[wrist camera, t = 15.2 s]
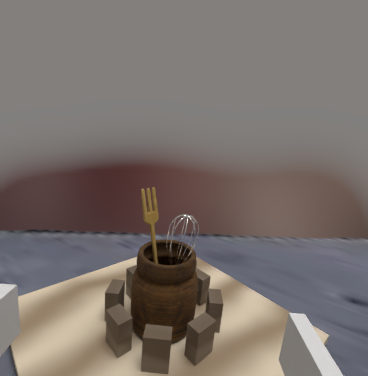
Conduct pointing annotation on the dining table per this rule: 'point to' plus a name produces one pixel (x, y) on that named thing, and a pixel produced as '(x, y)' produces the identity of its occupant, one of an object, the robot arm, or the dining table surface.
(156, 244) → the utensil holder
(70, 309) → the ring collar board
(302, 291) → the dining table surface
